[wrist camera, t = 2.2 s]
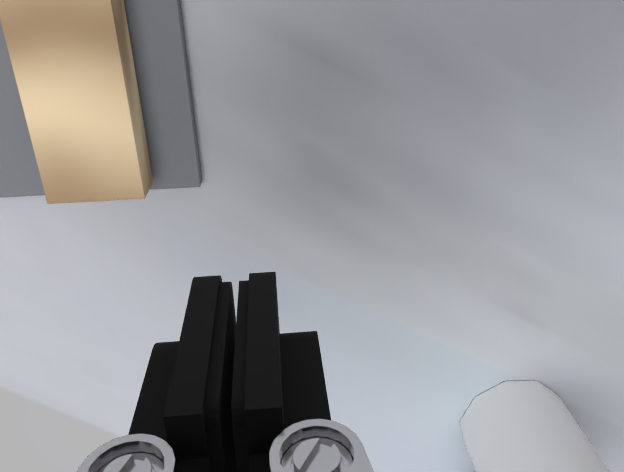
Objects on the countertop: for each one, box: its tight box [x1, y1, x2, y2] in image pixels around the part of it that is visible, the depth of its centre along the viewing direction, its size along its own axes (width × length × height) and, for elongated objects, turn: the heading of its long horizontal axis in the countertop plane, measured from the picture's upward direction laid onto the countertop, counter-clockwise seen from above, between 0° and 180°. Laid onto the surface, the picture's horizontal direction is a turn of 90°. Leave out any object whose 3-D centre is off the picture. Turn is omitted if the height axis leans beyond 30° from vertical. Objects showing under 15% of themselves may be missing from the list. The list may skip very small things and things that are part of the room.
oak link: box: [0, 0, 153, 204], centre depth 21 cm, size 15×4×3 cm, turn 2°
